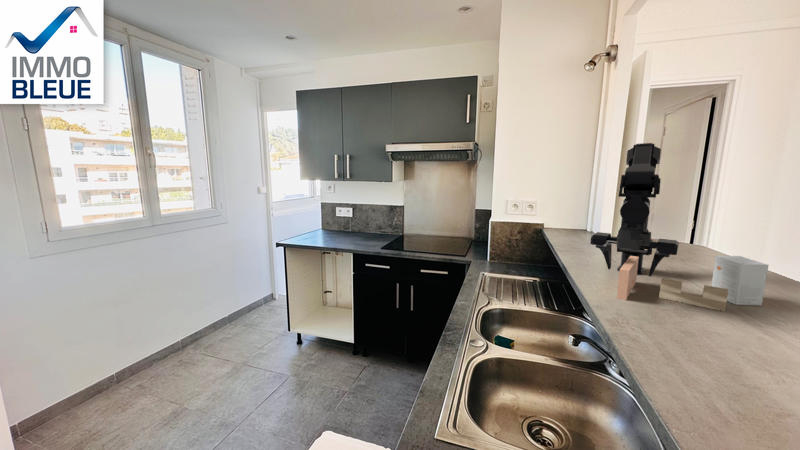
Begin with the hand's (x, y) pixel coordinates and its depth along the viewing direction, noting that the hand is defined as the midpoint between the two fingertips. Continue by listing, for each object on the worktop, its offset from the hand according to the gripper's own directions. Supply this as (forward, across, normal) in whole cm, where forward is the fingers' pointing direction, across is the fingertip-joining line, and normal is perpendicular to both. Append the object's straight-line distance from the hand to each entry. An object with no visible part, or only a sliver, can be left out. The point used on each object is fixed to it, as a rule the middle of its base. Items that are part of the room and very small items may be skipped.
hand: (628, 272), depth 85 cm
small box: (+5, +21, +10) cm, 24 cm away
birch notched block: (+5, +13, 0) cm, 14 cm away
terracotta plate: (+5, 0, 0) cm, 5 cm away
